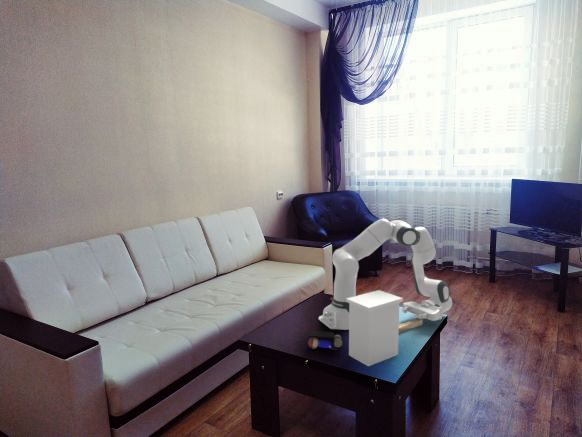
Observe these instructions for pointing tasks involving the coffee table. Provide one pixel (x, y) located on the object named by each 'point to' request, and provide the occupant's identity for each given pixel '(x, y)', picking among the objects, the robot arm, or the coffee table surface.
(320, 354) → the coffee table surface
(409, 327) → the beech bar
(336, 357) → the coffee table surface
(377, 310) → the pedestal
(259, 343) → the coffee table surface
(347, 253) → the robot arm
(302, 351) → the coffee table surface
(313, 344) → the figurine character
